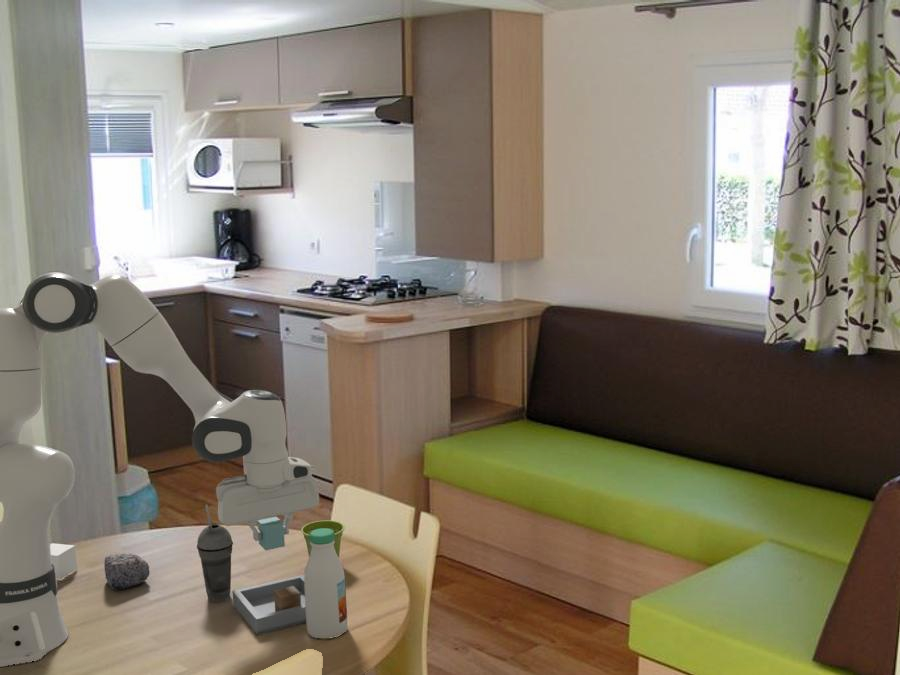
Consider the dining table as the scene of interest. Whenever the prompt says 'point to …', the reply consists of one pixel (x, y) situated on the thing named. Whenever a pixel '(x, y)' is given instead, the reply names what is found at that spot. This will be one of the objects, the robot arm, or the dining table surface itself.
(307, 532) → the plant pot
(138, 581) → the pumice stone
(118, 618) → the dining table surface
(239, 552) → the dining table surface
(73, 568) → the white cube
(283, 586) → the tray
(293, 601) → the walnut block
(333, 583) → the milk bottle
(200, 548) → the beverage cup
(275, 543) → the teal block
